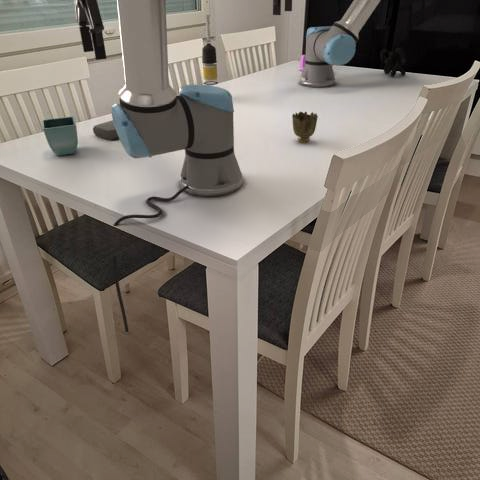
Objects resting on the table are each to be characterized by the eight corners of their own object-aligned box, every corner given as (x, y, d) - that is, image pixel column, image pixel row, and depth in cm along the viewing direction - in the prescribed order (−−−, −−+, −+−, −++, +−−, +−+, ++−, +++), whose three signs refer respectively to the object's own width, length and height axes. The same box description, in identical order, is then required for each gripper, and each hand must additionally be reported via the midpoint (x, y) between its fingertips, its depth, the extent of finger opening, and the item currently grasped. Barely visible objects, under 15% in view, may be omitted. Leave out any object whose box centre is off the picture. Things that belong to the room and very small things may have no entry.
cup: (287, 143, 133) (288, 116, 129) (296, 135, 139) (297, 110, 135) (310, 147, 130) (312, 119, 126) (319, 139, 136) (321, 113, 132)
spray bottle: (91, 134, 143) (149, 117, 159) (112, 141, 137) (170, 123, 153) (89, 125, 142) (148, 109, 158) (110, 132, 136) (170, 114, 152)
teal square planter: (82, 154, 128) (76, 124, 124) (50, 159, 126) (42, 128, 121) (79, 145, 135) (73, 115, 131) (49, 149, 133) (41, 119, 128)
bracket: (309, 71, 219) (310, 56, 215) (300, 70, 222) (300, 55, 218) (322, 66, 228) (323, 52, 224) (312, 65, 231) (313, 51, 227)
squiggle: (394, 87, 211) (371, 67, 214) (410, 72, 211) (386, 52, 214) (398, 76, 200) (374, 55, 203) (415, 59, 199) (390, 39, 202)
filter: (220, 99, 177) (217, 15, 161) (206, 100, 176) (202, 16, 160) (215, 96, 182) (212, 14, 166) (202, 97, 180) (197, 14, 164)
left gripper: (107, -36, 104) (121, 61, 115) (82, -36, 122) (96, 47, 134) (74, -35, 101) (92, 64, 112) (54, -36, 119) (71, 49, 131)
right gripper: (283, -57, 144) (281, 16, 155) (304, -56, 163) (301, 9, 174) (261, -56, 146) (261, 16, 157) (284, -55, 165) (283, 9, 177)
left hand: (94, 55), depth 123 cm, fingers open, 13 cm apart
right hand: (282, 13), depth 166 cm, fingers open, 13 cm apart
